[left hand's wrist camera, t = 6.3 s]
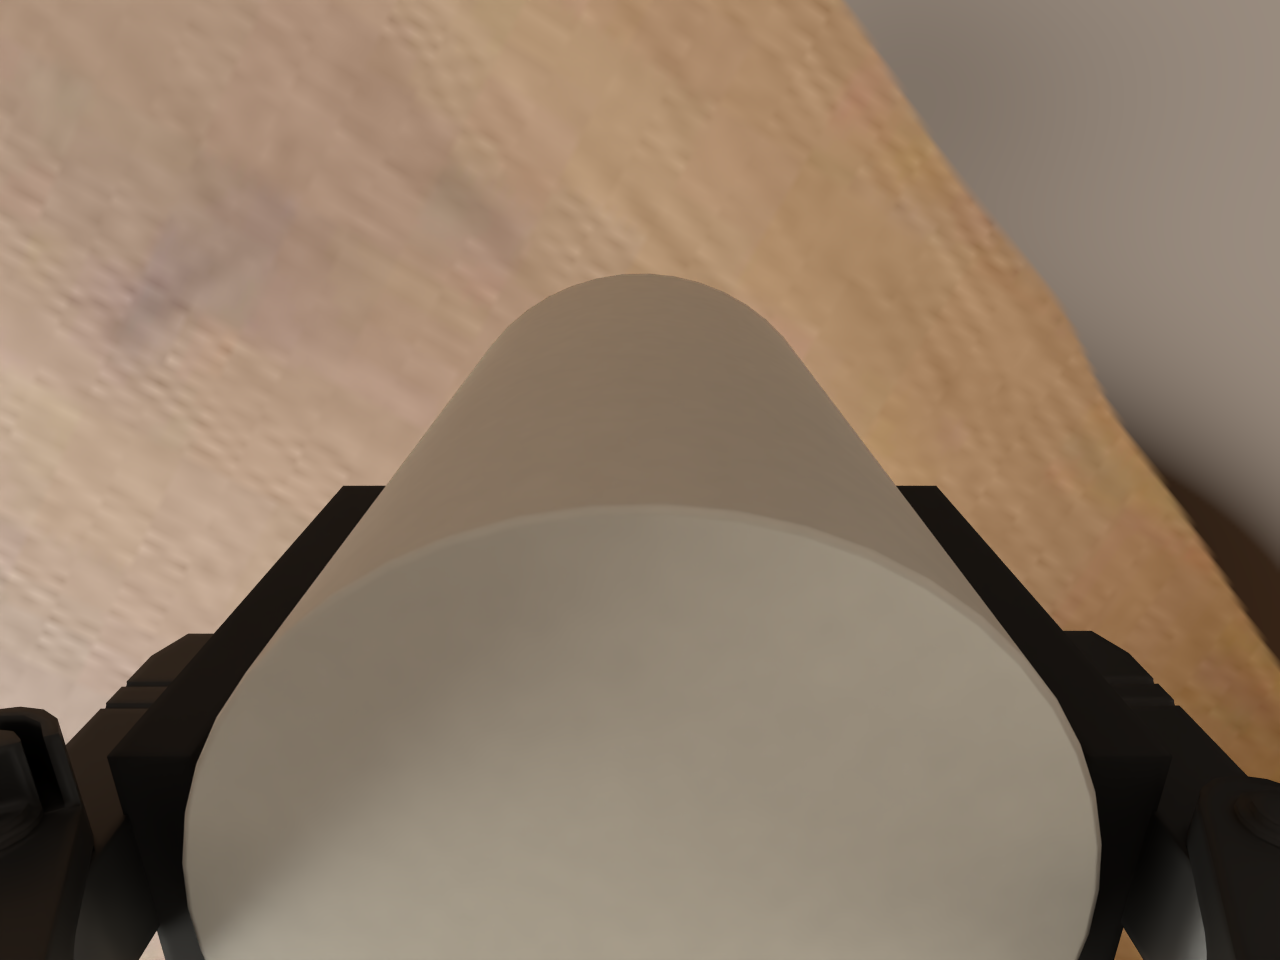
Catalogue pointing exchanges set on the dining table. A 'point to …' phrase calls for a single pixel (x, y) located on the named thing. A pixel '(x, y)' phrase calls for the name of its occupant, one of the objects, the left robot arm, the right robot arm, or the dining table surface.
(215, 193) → the dining table surface
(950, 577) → the canister
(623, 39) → the dining table surface
